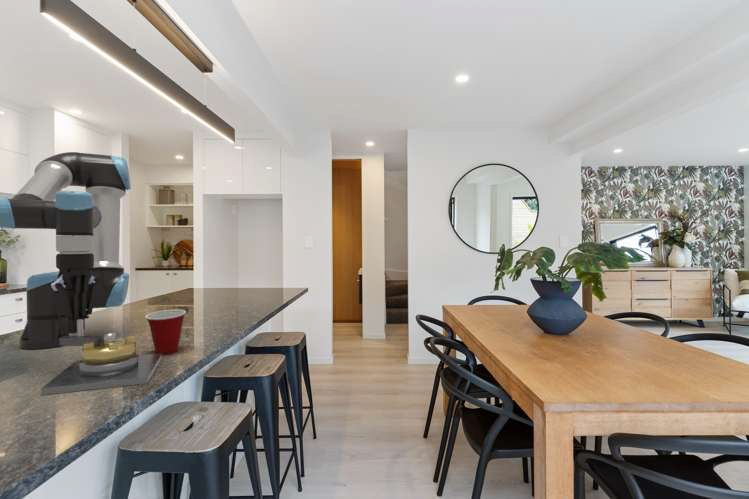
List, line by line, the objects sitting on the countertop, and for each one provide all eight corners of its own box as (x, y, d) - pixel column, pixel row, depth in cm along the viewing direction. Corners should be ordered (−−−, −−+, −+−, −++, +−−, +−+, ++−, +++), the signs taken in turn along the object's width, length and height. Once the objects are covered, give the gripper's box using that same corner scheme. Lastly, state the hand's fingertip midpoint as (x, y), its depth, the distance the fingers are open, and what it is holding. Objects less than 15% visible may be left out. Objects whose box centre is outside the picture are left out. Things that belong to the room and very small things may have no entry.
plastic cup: (136, 354, 110) (136, 314, 109) (167, 345, 120) (167, 308, 120) (163, 359, 106) (163, 317, 106) (193, 349, 116) (194, 310, 116)
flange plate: (76, 366, 99) (76, 351, 99) (162, 358, 106) (162, 344, 106) (41, 395, 80) (41, 376, 80) (147, 383, 88) (147, 366, 88)
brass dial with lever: (145, 351, 99) (145, 328, 99) (115, 364, 88) (115, 339, 88) (80, 350, 99) (80, 327, 99) (43, 363, 88) (43, 338, 88)
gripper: (82, 251, 101) (83, 337, 102) (36, 253, 88) (38, 352, 89) (109, 252, 100) (109, 338, 101) (66, 254, 88) (68, 353, 88)
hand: (76, 344), depth 95 cm, fingers closed
